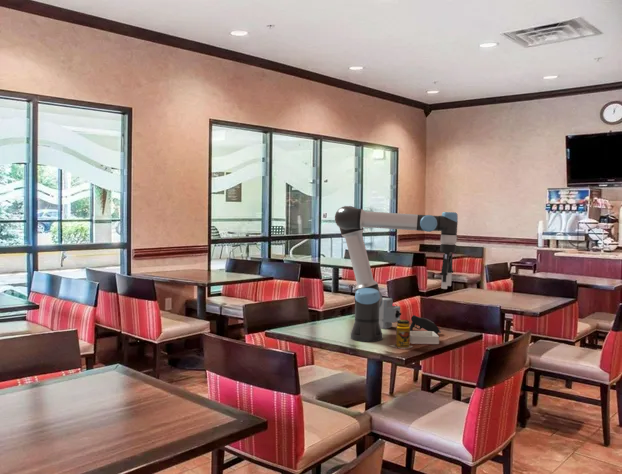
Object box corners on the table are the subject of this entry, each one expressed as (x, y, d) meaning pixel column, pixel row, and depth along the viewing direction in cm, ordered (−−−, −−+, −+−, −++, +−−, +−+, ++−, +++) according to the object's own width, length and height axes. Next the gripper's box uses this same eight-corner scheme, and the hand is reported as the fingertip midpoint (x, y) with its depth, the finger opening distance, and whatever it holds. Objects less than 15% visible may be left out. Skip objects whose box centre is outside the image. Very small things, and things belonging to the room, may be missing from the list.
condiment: (404, 349, 260) (405, 322, 259) (388, 346, 266) (389, 319, 265) (413, 346, 265) (414, 320, 265) (398, 343, 271) (398, 317, 270)
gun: (433, 345, 293) (443, 328, 293) (405, 330, 293) (415, 312, 293) (432, 344, 296) (442, 327, 296) (404, 329, 296) (414, 311, 296)
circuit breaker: (396, 330, 302) (397, 301, 302) (371, 327, 310) (372, 298, 309) (402, 328, 309) (403, 299, 308) (377, 325, 316) (378, 297, 316)
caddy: (410, 343, 271) (411, 336, 271) (406, 338, 283) (406, 330, 283) (438, 344, 272) (439, 336, 271) (433, 338, 284) (433, 331, 283)
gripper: (452, 245, 272) (450, 290, 273) (459, 243, 296) (457, 285, 296) (436, 244, 275) (434, 289, 276) (444, 242, 298) (442, 284, 299)
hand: (446, 287), depth 286 cm, fingers open, 13 cm apart
